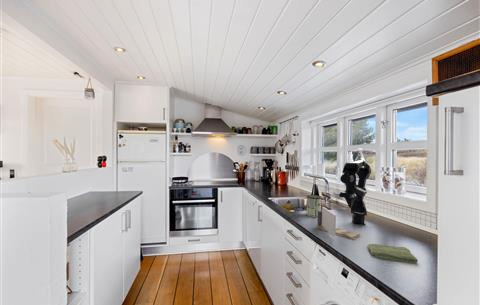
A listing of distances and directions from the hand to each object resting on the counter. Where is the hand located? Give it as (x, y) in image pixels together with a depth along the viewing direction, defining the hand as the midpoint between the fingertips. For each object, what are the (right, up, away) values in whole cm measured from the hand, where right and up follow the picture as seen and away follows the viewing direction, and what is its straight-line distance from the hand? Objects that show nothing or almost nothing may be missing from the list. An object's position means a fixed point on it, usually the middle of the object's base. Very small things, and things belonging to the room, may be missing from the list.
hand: (350, 207), depth 138 cm
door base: (-11, -13, -6) cm, 18 cm away
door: (-17, -11, -9) cm, 22 cm away
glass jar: (-13, -13, +29) cm, 34 cm away
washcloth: (+1, -14, -35) cm, 37 cm away
